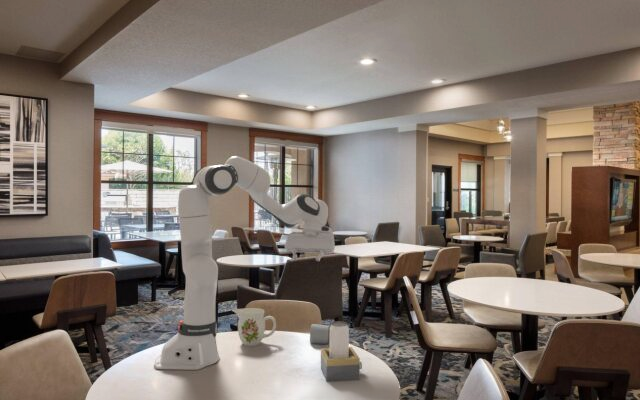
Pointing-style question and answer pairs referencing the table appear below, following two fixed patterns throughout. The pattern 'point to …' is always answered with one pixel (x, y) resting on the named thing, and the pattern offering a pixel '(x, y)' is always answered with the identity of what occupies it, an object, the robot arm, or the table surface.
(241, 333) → the pitcher
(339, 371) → the drawer
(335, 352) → the can
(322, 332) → the ceramic mug
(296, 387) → the table surface
